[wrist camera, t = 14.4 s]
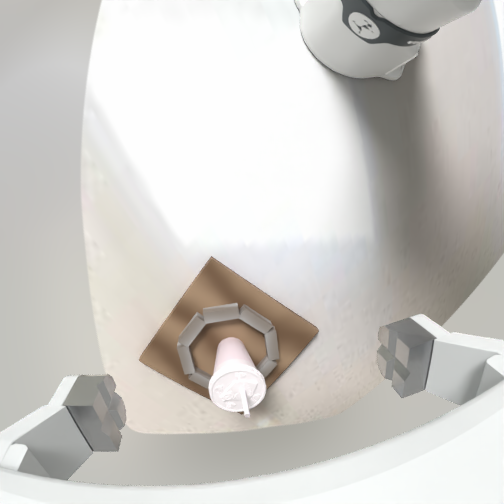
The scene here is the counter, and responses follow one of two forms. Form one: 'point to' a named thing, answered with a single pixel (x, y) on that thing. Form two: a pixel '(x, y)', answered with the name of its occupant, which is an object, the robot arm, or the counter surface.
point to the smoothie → (235, 378)
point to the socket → (225, 330)
